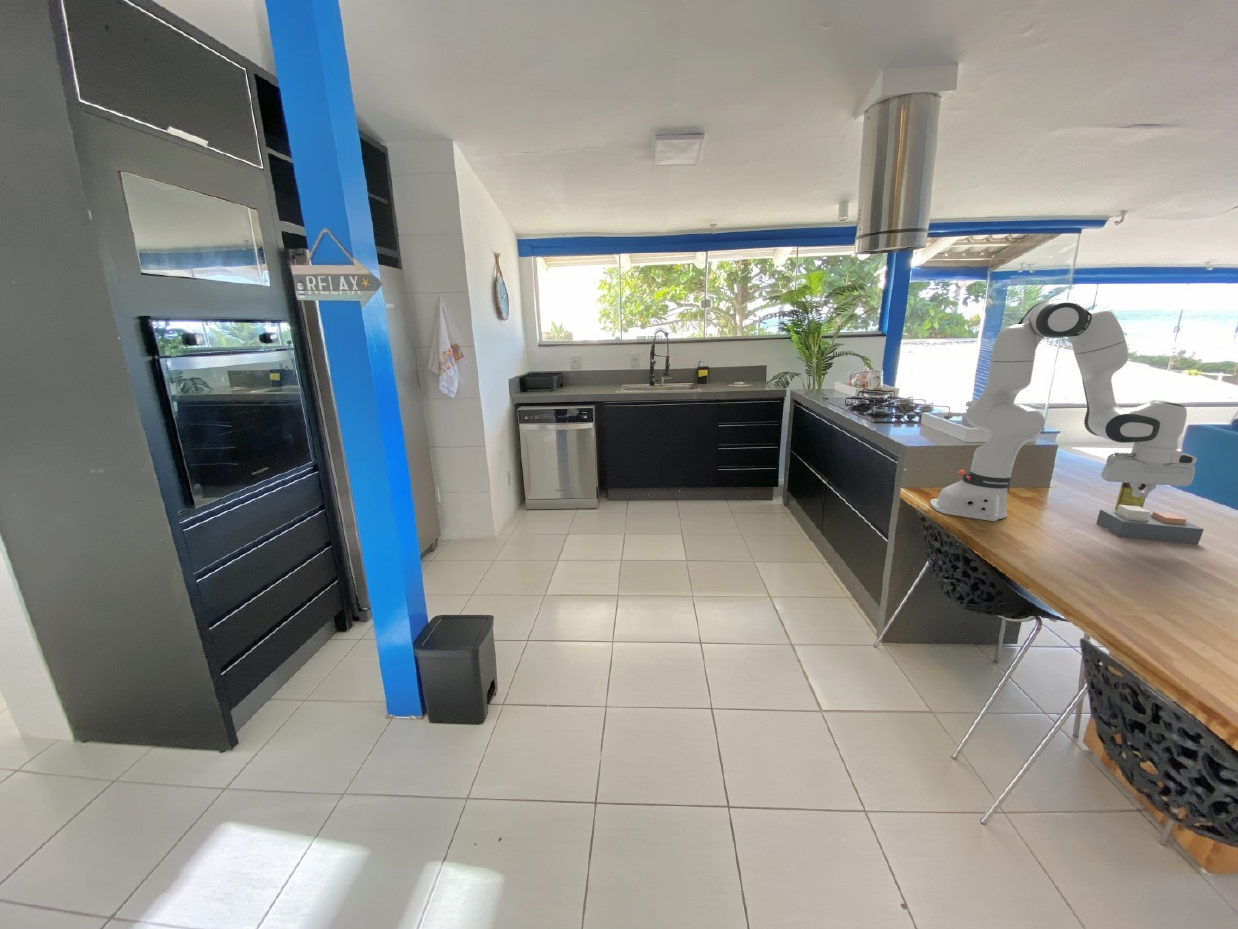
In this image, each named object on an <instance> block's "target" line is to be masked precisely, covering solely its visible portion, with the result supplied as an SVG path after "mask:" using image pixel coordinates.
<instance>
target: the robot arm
mask: <svg viewBox="0 0 1238 929" xmlns="http://www.w3.org/2000/svg"><path fill="white" fill-rule="evenodd" d="M1045 338H1052V339H1060V338H1067V339H1068V340H1069V342H1070V343H1071V346H1072V351H1073V354H1074V357H1075V361H1076V363H1077V366H1078V370H1079V372H1080V376H1081V380H1082V385H1083V392H1084V397H1085V402H1086V413H1085V415H1084V420H1083V424H1084V427H1085V429H1086V431H1087V432H1088V433H1090V434H1091V435H1093V436H1096V437H1097V436H1098V437H1101V438H1104V439H1106V440H1110V441H1112V442H1115V443H1120V444H1121V443H1122V444H1124V443H1125V444H1126V443H1133V445H1132V449H1131V452H1118V451H1117V452H1114V453H1112V454H1110V455H1108V456H1107V458H1106V462H1105V465H1104V467H1103V469H1102V471H1101V474H1100V477H1101V478H1102V479H1103V480H1105V481H1107V482H1111V483H1113V482H1114V483H1130V486H1131V488H1132V490H1133V492H1132V496H1134V497H1145V499H1146V498H1148V496H1149V494H1150V493H1152V492H1153V490H1155V489H1156V488H1157V486H1171V487H1189V486H1190V485H1191V484H1192V483H1193V481H1194V477H1195V475H1196V474H1195V473H1196V467H1195V466H1196V465H1195V464H1196V463H1197V460H1198V458H1197V457H1196V456H1193V455H1191V454H1188V453H1184V452H1182V451H1179V450H1178V448H1179V443H1178V442H1179V439H1180V437H1181V435H1182V434H1183V432H1184V430H1185V426H1186V421H1187V416H1188V412H1187V408H1186V407H1185V406H1184V405H1183V404H1180V403H1176V402H1170V401H1166V400H1165V401H1164V400H1159V399H1157V400H1155V399H1153V400H1151V401H1149V402H1147V403H1144V404H1142V405H1139V406H1136V407H1132V408H1128V409H1124V408H1122V407H1121V406H1119V405H1118V404H1117V402H1116V399H1115V394H1114V388H1113V384H1112V379H1113V376H1114V375H1115V373H1116V372H1118V371H1119V370H1121V369H1122V368H1124V366H1125V365H1126V363H1127V362H1128V359H1129V351H1128V350H1129V349H1128V345H1127V340H1126V336H1125V334H1124V331H1123V329H1122V326H1121V325H1120V322H1119V320H1118V318H1117V317H1116V315H1115V314H1114V312H1113V311H1111V310H1108V309H1105V308H1103V309H1101V308H1098V309H1092V310H1087V309H1086V308H1084V307H1083V306H1081V305H1080V304H1078V303H1077V302H1074V301H1071V300H1064V299H1050V300H1045V301H1041V302H1038V303H1037V304H1034V305H1033V306H1031V307H1030V309H1029V310H1028V311H1027V312H1026V313H1025V315H1024V316H1023V317H1022V318H1021V319H1020V321H1019V322H1018V323H1017V324H1011V325H1009V326H1006V327H1004V328H1002V329H1001V330H1000V331H999V332H998V334H997V335H996V339H995V341H994V344H993V347H992V351H991V355H990V361H989V368H988V374H987V379H986V383H985V386H984V388H983V391H982V392H981V395H980V396H979V397H978V399H977V400H976V401H975V402H973V403H971V404H970V405H969V406H968V408H967V410H966V414H965V418H966V421H967V423H968V424H969V425H971V426H972V427H974V428H976V429H977V430H980V431H983V432H987V433H990V435H989V437H988V440H986V442H985V443H984V444H983V445H981V446H978V447H977V448H976V449H975V450H974V453H973V458H972V462H971V467H970V470H968V471H965V470H964V469H959V470H958V472H957V473H958V475H959V476H960V477H962V479H961V480H959V481H957V482H955V483H953V484H950V485H948V486H945V487H944V488H942V489H941V491H940V493H939V495H938V497H937V498H932V499H930V501H929V505H930V506H931V507H932V508H933V509H934V510H935V511H937V512H938V513H942V514H945V515H950V516H951V515H952V516H958V517H963V518H969V519H970V518H971V519H977V520H984V521H990V522H997V521H998V520H1000V519H1005V518H1007V517H1008V513H1007V496H1008V492H1009V490H1010V487H1011V484H1012V480H1013V479H1012V472H1013V468H1014V464H1015V461H1016V459H1017V455H1018V454H1019V451H1020V450H1021V448H1022V447H1023V446H1024V445H1025V444H1026V443H1027V442H1028V441H1029V440H1032V439H1034V438H1036V437H1037V436H1038V435H1040V433H1042V431H1043V429H1044V427H1045V424H1046V421H1045V420H1046V419H1045V417H1044V415H1043V414H1042V412H1040V411H1039V410H1036V409H1034V408H1033V407H1030V406H1026V405H1022V404H1016V403H1015V400H1016V398H1017V396H1018V395H1019V393H1020V392H1021V391H1022V390H1024V389H1026V388H1027V387H1029V386H1030V384H1031V382H1032V376H1033V370H1034V364H1035V358H1036V350H1037V348H1038V346H1039V344H1040V343H1041V342H1042V341H1043V339H1045ZM1141 484H1145V485H1146V487H1145V488H1144V489H1143V490H1142V491H1140V490H1139V489H1138V487H1140V486H1141Z"/></svg>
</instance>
